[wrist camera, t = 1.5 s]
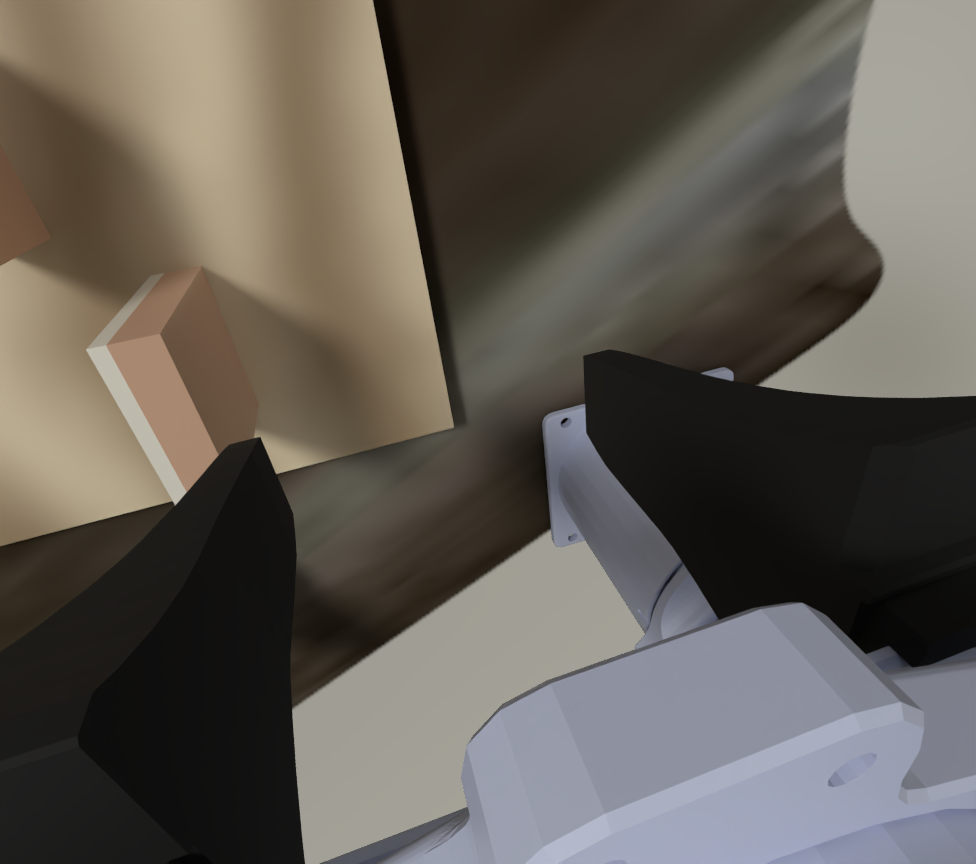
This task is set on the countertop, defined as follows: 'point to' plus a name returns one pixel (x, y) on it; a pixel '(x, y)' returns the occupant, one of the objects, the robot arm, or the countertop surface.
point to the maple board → (205, 234)
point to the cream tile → (177, 376)
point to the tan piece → (17, 216)
